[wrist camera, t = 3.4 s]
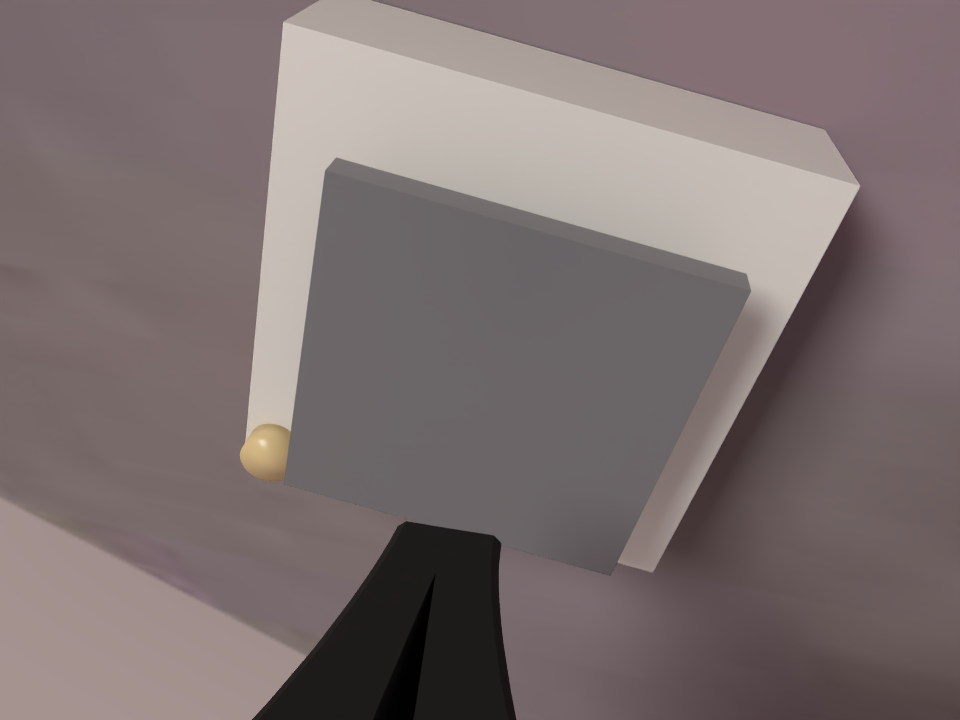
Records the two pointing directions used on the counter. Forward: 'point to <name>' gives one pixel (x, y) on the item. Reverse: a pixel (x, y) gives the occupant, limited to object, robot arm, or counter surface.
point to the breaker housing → (540, 191)
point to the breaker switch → (496, 365)
